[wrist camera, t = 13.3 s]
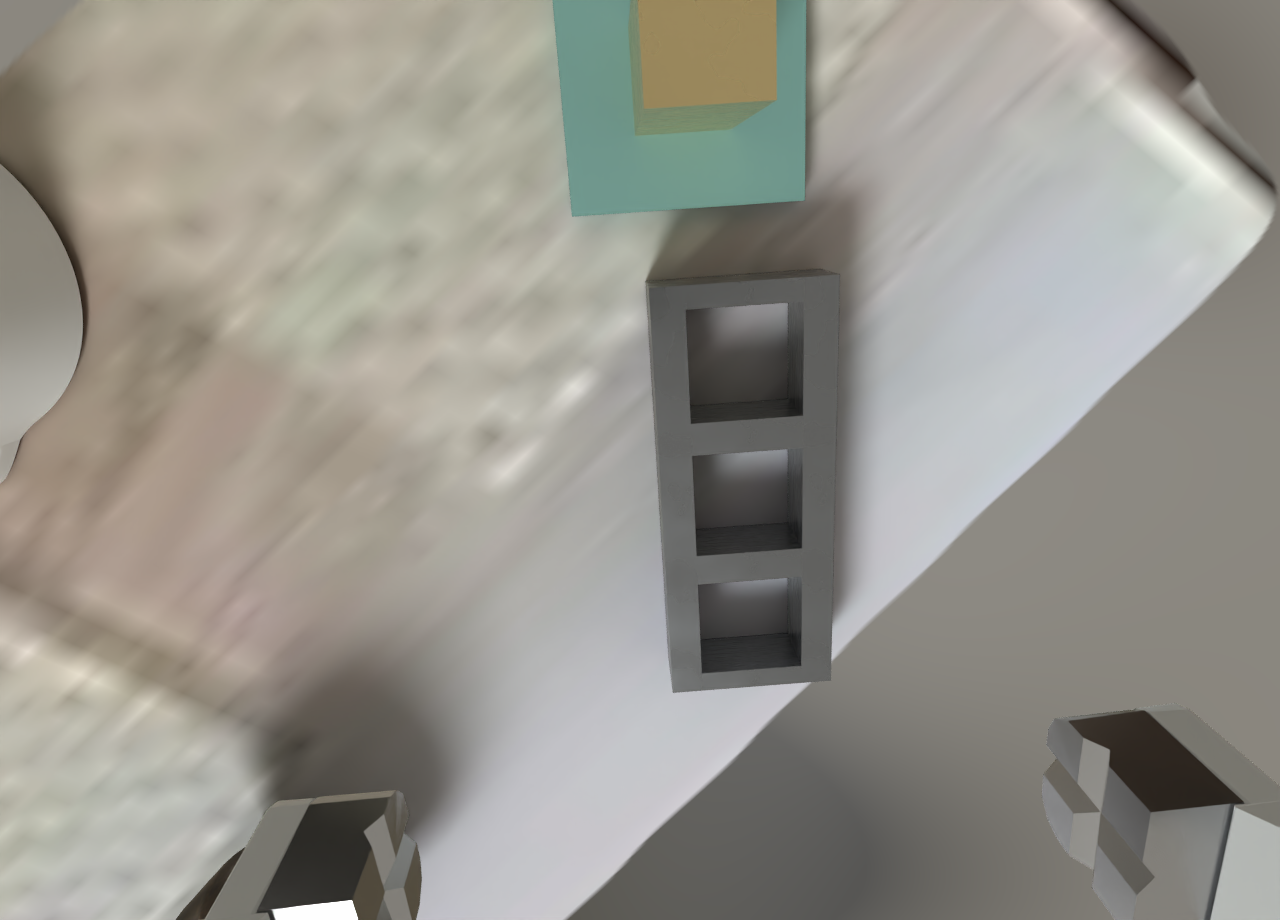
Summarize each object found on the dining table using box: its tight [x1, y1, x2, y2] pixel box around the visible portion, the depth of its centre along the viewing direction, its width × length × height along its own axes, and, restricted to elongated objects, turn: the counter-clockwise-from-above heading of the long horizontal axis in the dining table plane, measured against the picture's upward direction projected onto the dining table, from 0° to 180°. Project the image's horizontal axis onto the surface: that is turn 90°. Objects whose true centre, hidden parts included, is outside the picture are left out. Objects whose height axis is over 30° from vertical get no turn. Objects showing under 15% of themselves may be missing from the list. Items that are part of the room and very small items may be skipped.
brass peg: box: [628, 0, 777, 136], centre depth 26 cm, size 4×4×9 cm
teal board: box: [553, 0, 806, 217], centre depth 31 cm, size 10×10×1 cm
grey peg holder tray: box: [646, 269, 840, 693], centre depth 35 cm, size 8×20×3 cm, turn 4°
